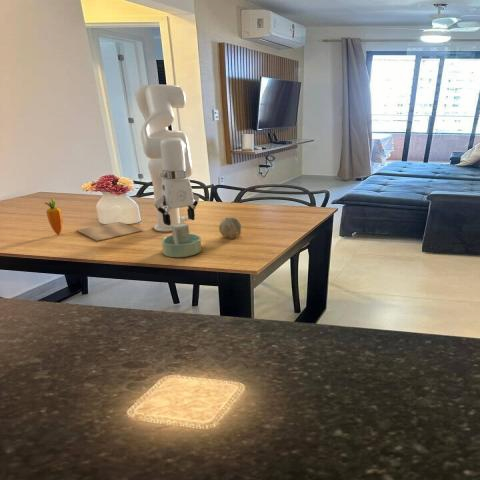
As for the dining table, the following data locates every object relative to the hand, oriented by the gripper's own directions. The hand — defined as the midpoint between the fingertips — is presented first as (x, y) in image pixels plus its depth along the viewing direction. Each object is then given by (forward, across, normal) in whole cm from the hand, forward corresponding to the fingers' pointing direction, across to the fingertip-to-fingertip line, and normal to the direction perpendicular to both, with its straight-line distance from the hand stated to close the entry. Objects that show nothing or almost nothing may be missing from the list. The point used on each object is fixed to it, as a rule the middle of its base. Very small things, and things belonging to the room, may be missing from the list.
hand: (179, 221), depth 139 cm
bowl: (+12, 0, 0) cm, 12 cm away
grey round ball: (+12, +23, +2) cm, 26 cm away
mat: (+11, -7, +46) cm, 47 cm away
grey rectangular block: (+12, 0, 0) cm, 12 cm away
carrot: (+11, -23, +56) cm, 61 cm away
